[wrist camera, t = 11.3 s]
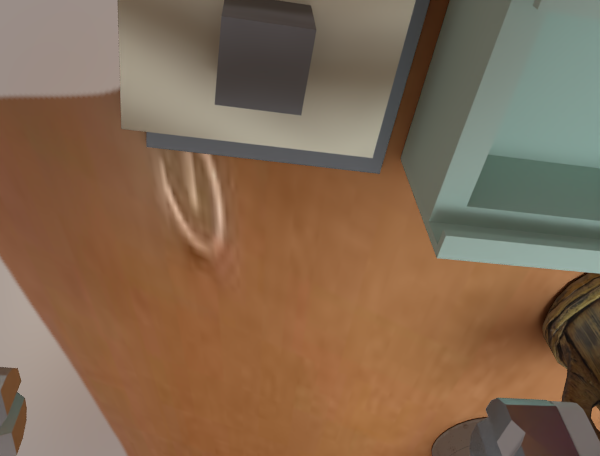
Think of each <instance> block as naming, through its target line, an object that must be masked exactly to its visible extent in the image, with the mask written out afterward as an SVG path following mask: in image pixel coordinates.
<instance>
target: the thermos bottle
mask: <svg viewBox="0 0 600 456" xmlns="http://www.w3.org/2000/svg"><path fill="white" fill-rule="evenodd" d="M484 419H486V418H480V419H475V420H470V421H467V422H464V423H461V424H458V425H456V426H454V427H452V428H450V429H449V430H447V431H446V432H444V433H443V434H442V435H441V436H440V437H439V438H438V439H437V440H436V442H435V443H434V445H433V448H432V456H470V450H469V448H470V439H471V434H472V432H473V430H474V428H475V426H476V424H477V423H479V422H480V421H482V420H484Z"/></svg>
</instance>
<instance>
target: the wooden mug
mask: <svg viewBox="0 0 600 456" xmlns="http://www.w3.org/2000/svg"><path fill="white" fill-rule="evenodd" d="M542 329H543V335H544V338H545V340H546V342H547V344H548V345H549V347H550V349H551V351H552V353H553V355H554V356H555V358H556V360H557V362H558V363H559V364H561V365H562V366H563V367H565V368H566V369H567V378H566V383H565V387H564V391H563V395H562V402H573V403H577V404H578V405H579V406H580V407H581V408H582V409H583V410H584V412H585V414H586V416H587V418H588V420H589V422H590V423H591V425H592V427H593V429H594V431H595V433H596V435H597V437H598V439H599V441H600V431H599V430H598V429H597V428H596V427H595V425H594V423H593V421H592V419H591V411H592V408H593V407H595V406H597V408H598V409H599V410H600V274H599V273H588V274H586V275H585V276H583V277H581V278H580V279H578V280H577V281H575V282H573V283H572V284H570V285H569V286H568V287H567V288H566V289H565V290H564V291H563V292H562V293H561V294H560V295H559V296H558V297H557V298H556V300H555V302H554V304H553V305H552V306H551V308H550V310H549V312H548V314H547V317H546V319H545V321H544V324H543V327H542Z"/></svg>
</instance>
